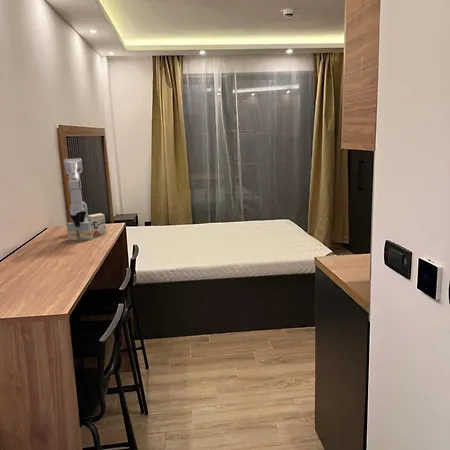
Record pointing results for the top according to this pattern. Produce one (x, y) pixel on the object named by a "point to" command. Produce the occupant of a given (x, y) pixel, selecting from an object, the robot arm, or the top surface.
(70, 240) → the mat
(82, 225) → the lintel
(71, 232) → the cube left
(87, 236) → the cube right
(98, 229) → the ink box
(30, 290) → the top surface
